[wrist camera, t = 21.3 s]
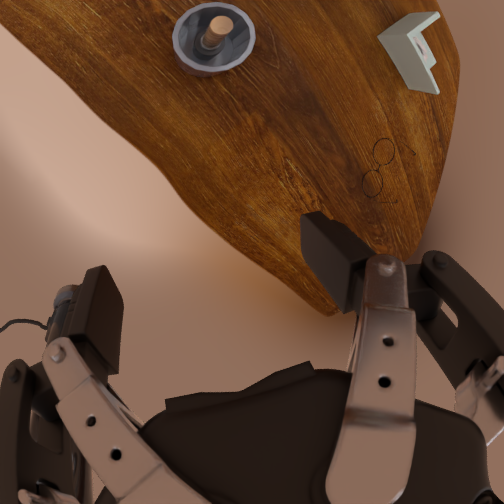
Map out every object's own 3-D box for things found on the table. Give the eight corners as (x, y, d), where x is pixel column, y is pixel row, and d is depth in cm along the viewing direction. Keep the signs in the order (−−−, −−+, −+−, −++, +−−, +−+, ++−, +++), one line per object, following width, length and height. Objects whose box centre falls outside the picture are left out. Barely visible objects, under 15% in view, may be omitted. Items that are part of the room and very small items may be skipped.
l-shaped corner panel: (408, 88, 37) (437, 94, 31) (376, 36, 31) (406, 34, 25) (436, 62, 34) (464, 66, 28) (409, 13, 28) (437, 11, 22)
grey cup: (178, 82, 30) (178, 78, 22) (170, 29, 25) (168, 8, 17) (239, 72, 31) (259, 66, 23) (232, 20, 27) (250, -1, 19)
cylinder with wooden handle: (194, 62, 29) (203, 45, 17) (190, 39, 27) (198, 10, 15) (220, 58, 29) (244, 40, 18) (217, 35, 27) (240, 6, 16)
